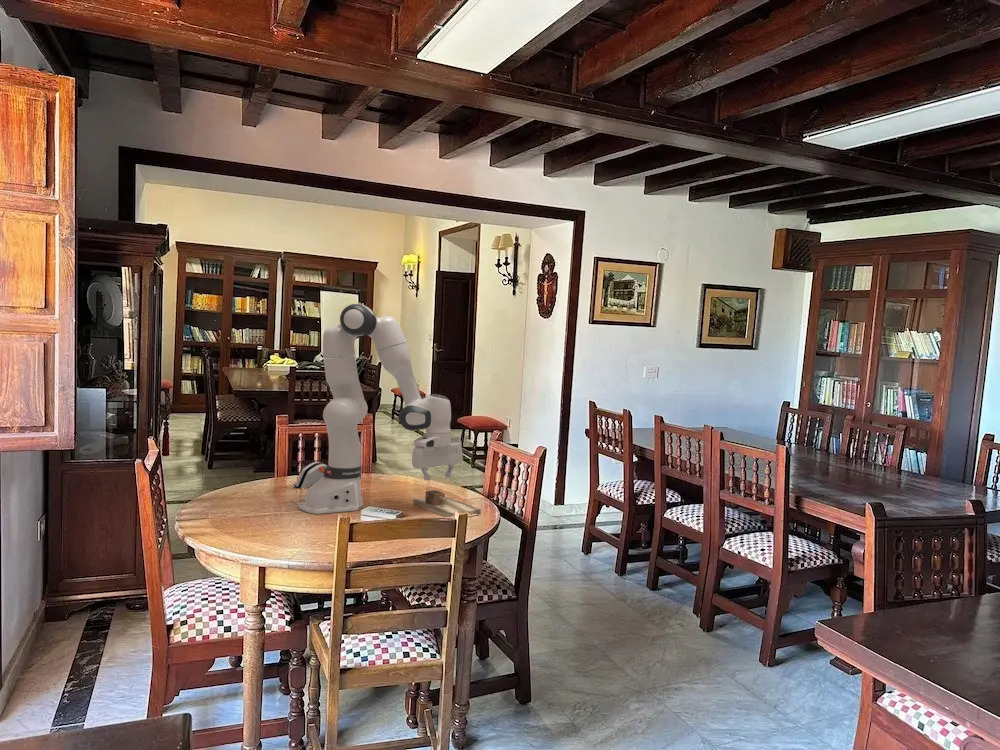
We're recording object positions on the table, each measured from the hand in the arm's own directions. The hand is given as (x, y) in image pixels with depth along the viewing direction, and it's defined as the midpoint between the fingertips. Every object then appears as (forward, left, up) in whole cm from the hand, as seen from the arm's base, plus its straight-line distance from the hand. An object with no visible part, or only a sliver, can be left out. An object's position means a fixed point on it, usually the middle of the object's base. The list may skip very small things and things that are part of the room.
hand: (437, 478), depth 242 cm
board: (+2, -2, -11) cm, 12 cm away
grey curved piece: (-21, +56, -12) cm, 61 cm away
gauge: (-1, 0, -9) cm, 9 cm away
